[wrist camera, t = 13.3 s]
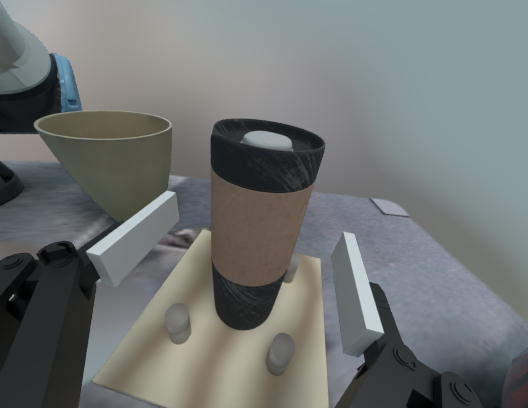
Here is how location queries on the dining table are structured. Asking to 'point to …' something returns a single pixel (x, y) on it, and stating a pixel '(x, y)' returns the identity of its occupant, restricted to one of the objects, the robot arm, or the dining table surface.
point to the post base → (224, 344)
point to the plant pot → (112, 155)
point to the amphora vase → (516, 383)
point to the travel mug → (257, 212)
